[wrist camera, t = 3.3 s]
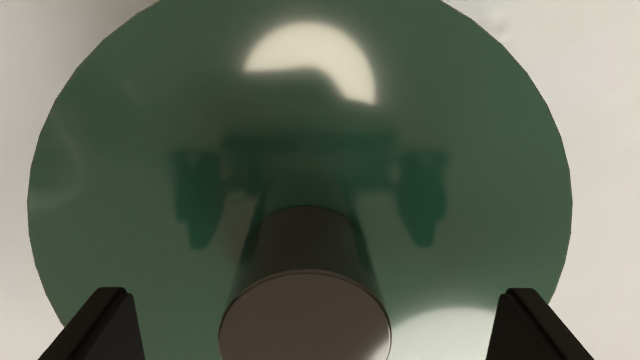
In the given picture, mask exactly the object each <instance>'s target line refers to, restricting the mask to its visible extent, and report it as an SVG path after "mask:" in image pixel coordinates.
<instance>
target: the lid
mask: <svg viewBox="0 0 640 360" xmlns="http://www.w3.org/2000/svg"><path fill="white" fill-rule="evenodd" d="M572 203H573V202H572V191H571V181H570V170H569V166H568V162H567V158H566V154H565V150H564V147H563V143H562V139H561V136H560V133H559V131H558V129H557V126H556V124H555V122H554V119H553V117H552V115H551V113H550V110H549V108H548V106H547V104H546V102H545V100H544V99H543V97H542V96H541V94H540V92H539V91H538V89H537V88H536V86H535V85H534V83H533V81H532V80H531V78H530V77H529V75H528V73H527V72H526V71H525V70H524V69H523V68H522V67H521V65H520V64H519V63H518V62H517V61H516V60H515V59H514V57H513V56H512V55H511V54H510V53H509V52H508V51H507V49H506V48H505V47H504V46H503V45H502V44H501V43H500V42H499V41H497V40H496V39H495V38H494V37H493V36H491V35H490V34H489V33H488V32H487V31H485V30H484V29H483V28H482V27H481V26H479V25H478V24H477V23H476V22H475V21H473V20H472V19H471V18H469V17H468V16H466V15H464V14H463V13H461V12H459V11H458V10H456V9H454V8H453V7H451V6H449V5H448V4H446V3H444V2H443V1H441V0H160V1H158V2H156V3H154V4H153V5H151V6H149V7H147V8H145V9H144V10H142V11H140V12H138V13H137V14H135V15H134V16H133V17H131V18H130V19H129V20H128V21H126V22H125V23H124V24H122V25H121V26H120V27H119V28H117V29H116V30H115V31H113V32H112V33H111V34H110V35H108V36H107V37H106V38H104V39H103V40H102V42H101V43H100V44H99V45H98V46H97V47H96V48H95V49H94V50H93V51H92V52H91V53H90V54H89V55H88V56H87V58H86V59H85V60H84V61H83V62H82V63H81V64H80V65H79V66H78V67H77V68H76V70H75V71H74V73H73V74H72V76H71V77H70V79H69V80H68V82H67V83H66V85H65V86H64V88H63V89H62V91H61V92H60V94H59V95H58V97H57V98H56V100H55V102H54V104H53V106H52V108H51V111H50V113H49V115H48V117H47V119H46V122H45V124H44V126H43V128H42V130H41V133H40V135H39V139H38V143H37V146H36V150H35V154H34V157H33V161H32V165H31V169H30V179H29V188H28V198H27V208H28V227H29V237H30V242H31V247H32V252H33V257H34V261H35V266H36V269H37V271H38V274H39V277H40V280H41V282H42V285H43V288H44V291H45V293H46V296H47V298H48V299H49V301H50V303H51V305H52V307H53V309H54V311H55V313H56V315H57V316H58V318H59V320H60V322H61V323H62V325H63V326H64V328H65V327H66V325H67V324H68V323H69V322H70V320H71V319H72V318H73V317H74V316H75V314H76V313H77V312H78V311H79V310H80V308H81V307H82V306H83V305H84V303H85V302H86V301H87V300H88V299H89V297H90V296H91V295H92V294H93V293H94V291H95V290H96V289H97V288H99V287H123V288H125V289H126V291H127V293H131V294H132V295H133V297H134V302H135V307H136V313H137V318H138V323H139V328H140V334H141V339H142V344H143V349H144V355H145V360H486V355H487V351H488V346H489V341H490V337H491V332H492V328H493V323H494V319H495V314H496V309H497V305H498V300H499V297H500V295H501V294H505V293H506V290H507V289H508V288H533V289H534V290H536V291H537V292H538V294H539V295H540V296H541V297H542V298H543V300H544V301H545V302H546V303H547V304H549V302H550V300H551V298H552V296H553V294H554V292H555V290H556V287H557V284H558V281H559V278H560V275H561V272H562V270H563V267H564V264H565V260H566V255H567V250H568V245H569V240H570V235H571V221H572Z"/></svg>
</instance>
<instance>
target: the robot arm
mask: <svg viewBox="0 0 640 360" xmlns="http://www.w3.org/2000/svg"><path fill="white" fill-rule="evenodd" d="M38 360H145V355H144V349H143V344H142V339H141V334H140V328H139V323H138V318H137V313H136V307H135V302H134V297H133V295H132V294H131V293H127V291H126V289H125V288H123V287H99V288H97V289H96V290H95V291H94V293H93V294H92V295H91V296H90V297H89V299H88V300H87V301H86V302H85V303H84V305H83V306H82V307H81V308H80V310H79V311H78V312H77V313H76V314H75V316H74V317H73V318H72V319H71V320H70V322H69V323H68V324H67V325H66V327H65V328H64V329H63V330H62V331H61V333H60V334H59V335H58V336H57V337H56V339H55V340H54V341H53V342H52V344H51V345H50V346H49V347H48V348H47V349H46V350H45V352H44V353H43V354H42V355H41V356H40V358H39V359H38ZM486 360H594V359H593V358H592V356H591V355H590V354H589V353H588V352H587V351H586V349H585V348H584V347H583V346H582V345H581V343H580V342H579V341H578V340H577V339H576V337H575V336H574V335H573V334H572V333H571V332H570V330H569V329H568V328H567V327H566V326H565V324H564V323H563V322H562V321H561V320H560V319H559V317H558V316H557V315H556V314H555V313H554V311H553V310H552V309H551V308H550V307H549V305H548V304H547V303H546V302H545V301H544V300H543V298H542V297H541V296H540V295H539V294H538V292H537V291H536V290H534V289H533V288H508V289H507V290H506V293H505V294H501V295H500V297H499V300H498V305H497V309H496V314H495V319H494V323H493V328H492V332H491V337H490V341H489V346H488V351H487V355H486Z"/></svg>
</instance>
